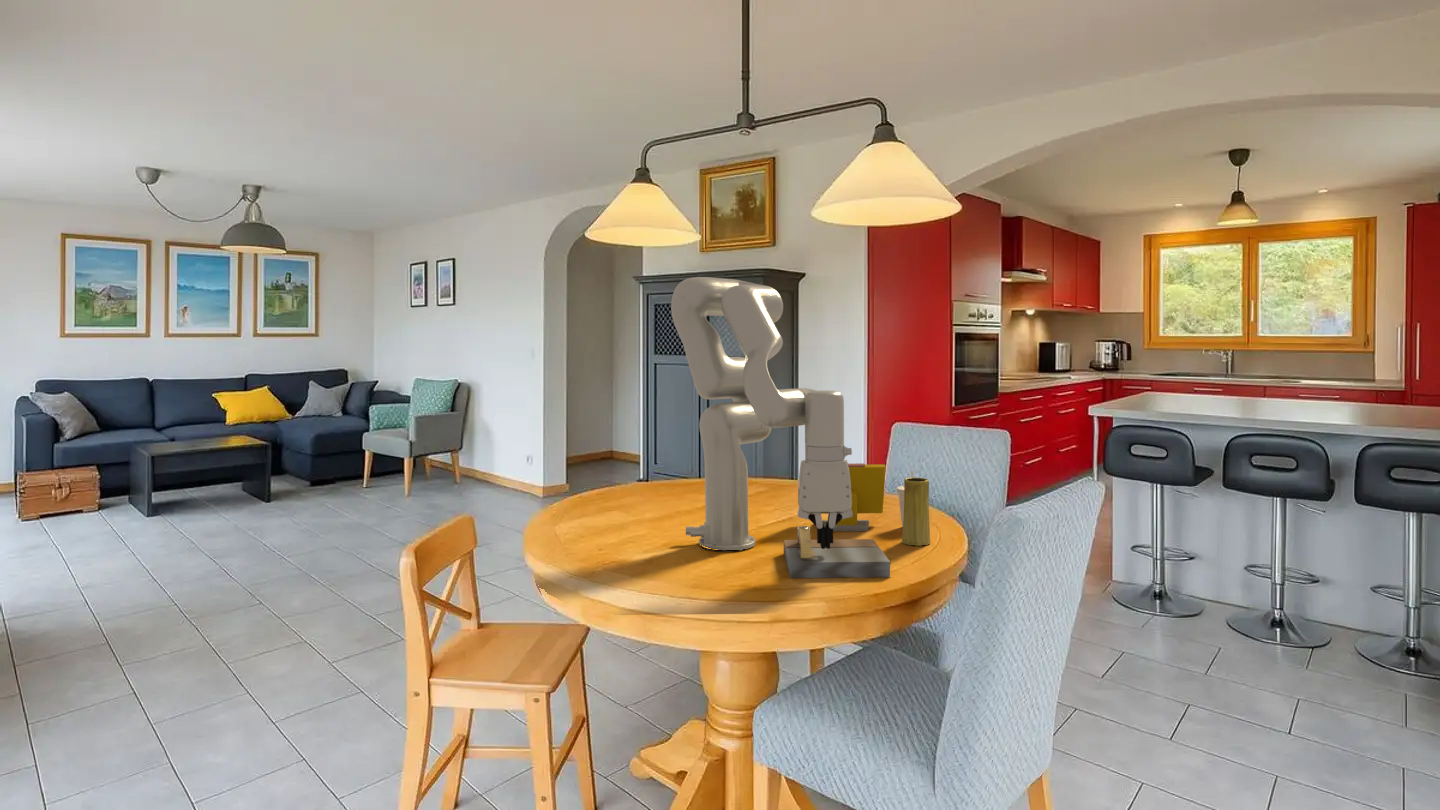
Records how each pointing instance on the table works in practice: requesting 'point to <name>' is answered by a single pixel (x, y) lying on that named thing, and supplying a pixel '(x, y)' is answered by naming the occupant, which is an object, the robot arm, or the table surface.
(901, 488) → the smoothie
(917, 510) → the vase
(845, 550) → the door mockup
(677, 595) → the table surface
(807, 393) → the robot arm
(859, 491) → the toy computer monitor
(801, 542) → the latch bar
